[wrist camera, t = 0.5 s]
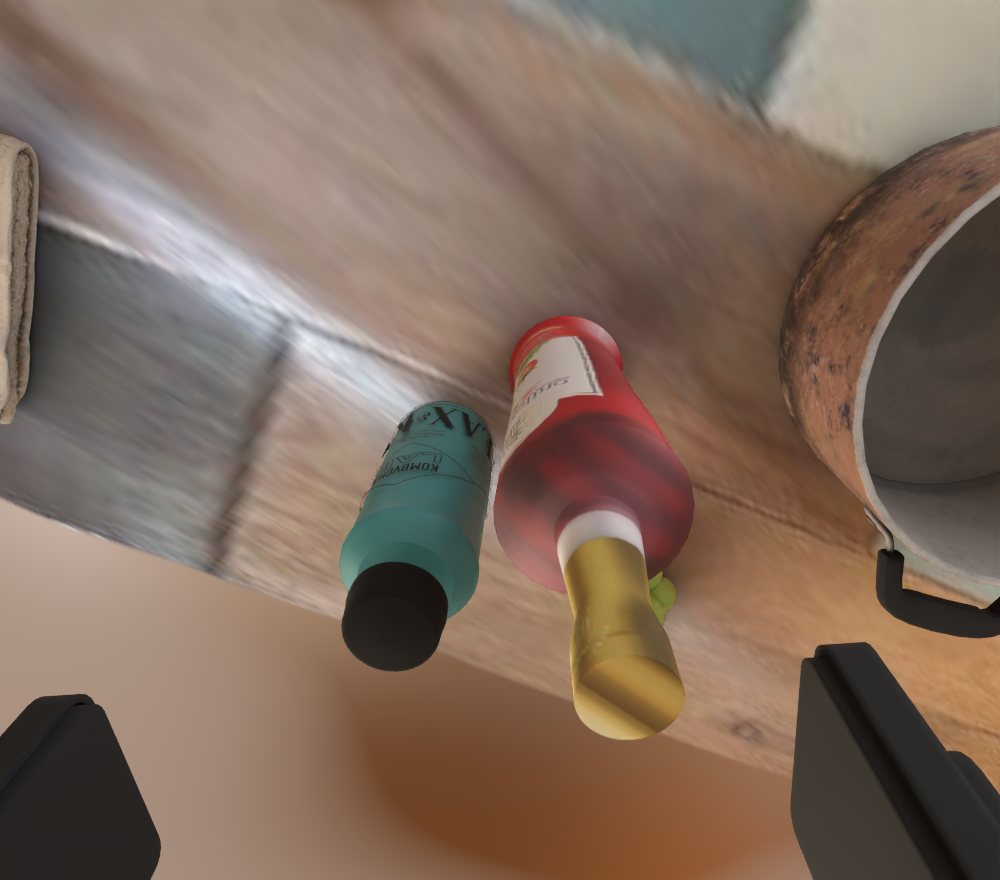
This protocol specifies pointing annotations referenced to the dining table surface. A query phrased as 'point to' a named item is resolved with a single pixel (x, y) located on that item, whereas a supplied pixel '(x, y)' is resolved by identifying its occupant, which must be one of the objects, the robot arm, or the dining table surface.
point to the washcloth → (16, 267)
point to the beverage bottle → (417, 537)
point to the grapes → (661, 595)
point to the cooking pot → (911, 369)
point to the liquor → (595, 518)
